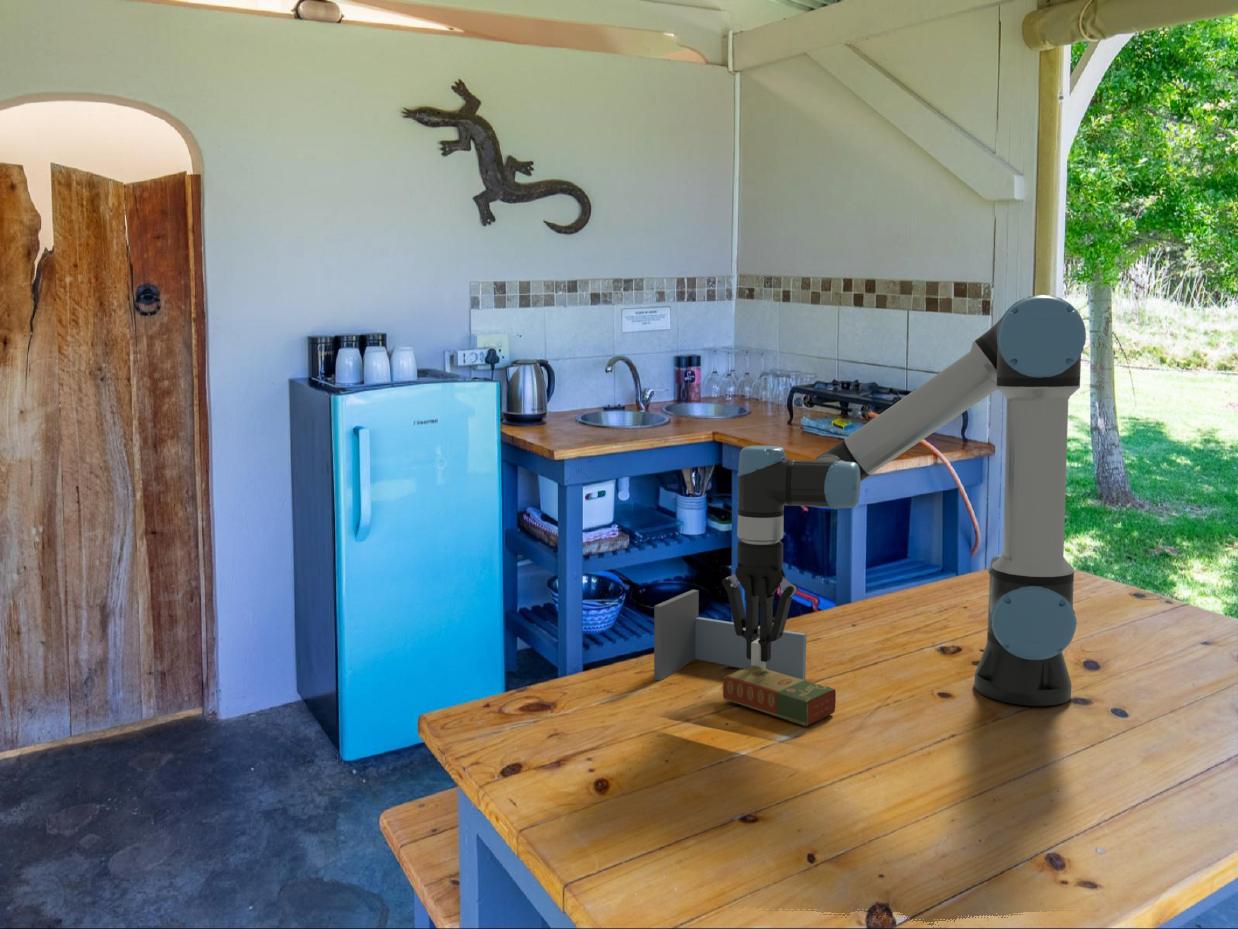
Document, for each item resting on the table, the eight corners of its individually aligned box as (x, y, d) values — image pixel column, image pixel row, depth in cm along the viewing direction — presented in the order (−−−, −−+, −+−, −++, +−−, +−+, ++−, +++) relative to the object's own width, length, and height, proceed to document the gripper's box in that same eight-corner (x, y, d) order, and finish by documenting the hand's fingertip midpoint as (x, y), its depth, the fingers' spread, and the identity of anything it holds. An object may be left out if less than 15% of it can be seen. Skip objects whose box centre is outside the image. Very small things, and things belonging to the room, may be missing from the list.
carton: (753, 688, 175) (753, 663, 175) (836, 713, 164) (837, 687, 164) (722, 700, 169) (722, 675, 169) (806, 727, 158) (807, 700, 158)
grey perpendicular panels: (805, 678, 182) (806, 605, 181) (772, 702, 170) (773, 623, 169) (692, 658, 194) (693, 589, 192) (654, 679, 182) (654, 605, 180)
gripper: (806, 540, 173) (803, 679, 176) (734, 532, 180) (732, 667, 183) (788, 547, 167) (785, 692, 170) (714, 539, 174) (713, 678, 176)
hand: (758, 679), depth 176 cm, fingers closed
